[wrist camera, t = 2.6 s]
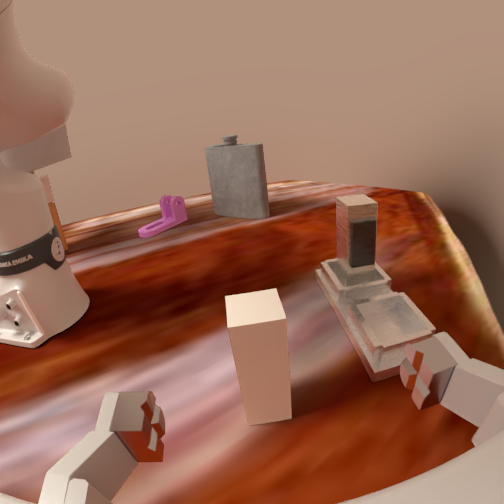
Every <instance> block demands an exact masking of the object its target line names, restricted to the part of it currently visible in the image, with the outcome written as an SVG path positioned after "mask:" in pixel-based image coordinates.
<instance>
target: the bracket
mask: <svg viewBox="0 0 504 504" xmlns="http://www.w3.org/2000/svg"><path fill="white" fill-rule="evenodd" d="M167 201H168V203H167ZM160 207H161V212H162V218H161V219H159V220H157V221H155V222H152V223H150V224H148V225H146V226H143V227H141V228H140V229H139V230H138V233H139V236H140V237H143V238H145V237H151V236H154V235H157V234H159V233H161V232H163V231H165V230H167V229H169V228H171V227H173V226H176V225H178V224H180V223H182V222H184V221H186V220H188V219H187V214H186V208H185V203H184V199H183V198H182V197H180V196H174V197H172V196H169V195H164V196H163V197H162V198H161V199H160Z"/></svg>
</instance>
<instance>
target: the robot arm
mask: <svg viewBox="0 0 504 504" xmlns="http://www.w3.org/2000/svg"><path fill="white" fill-rule="evenodd" d="M73 104H74V90H73V86H72V84H71V81H70V79H69V78H68V76H67V75H66V74H65V73H64V72H63V71H62V70H60V69H59V68H56V67H52V66H48V65H46V64H43V63H41V62H39V61H37V60H36V59H34V58H33V57H32V56H31V55H29V53H28V52H27V51H26V50H25V49H24V48H23V46H22V44H21V42H20V39H19V36H18V32H17V27H16V21H15V14H14V5H13V0H0V153H2V152H3V151H5V150H8V149H11V148H13V147H16V146H19V145H21V144H24V143H27V142H30V141H33V140H36V139H39V138H41V137H43V136H44V135H46V134H48V133H50V132H52V131H54V130H56V129H57V128H59V127H61V126H63V125H65V123H66V122H67V120H68V118H69V116H70V114H71V111H72V108H73ZM89 302H90V300H89V297H88V295H87V294H86V293H85V292H84V290H83V289H82V288H81V286H80V285H79V283H78V281H77V280H76V278H75V276H74V274H73V273H72V271H71V269H70V267H69V264H68V262H67V260H66V256H65V251H64V247H63V244H62V241H61V237H60V234H59V231H58V229H57V226H56V225H55V224H53V221H52V217H51V214H50V210H49V206H48V202H47V199H46V195H45V191H44V187H43V184H42V182H41V180H40V179H39V178H38V177H37V176H36V175H34V174H32V173H29V172H26V171H21V170H14V169H8V168H6V167H5V166H4V165H3V163H2V161H1V158H0V342H1V343H6V344H11V345H17V346H22V347H28V348H35V347H37V346H39V345H40V344H42V343H43V342H44V341H46V340H47V339H48V338H50V337H51V336H53V335H55V334H58V333H60V332H62V331H63V330H65V329H67V328H68V327H70V326H71V325H73V324H74V323H75V322H77V321H78V320H79V319H80V318H81V317H82V316H83V314H84V313H85V312H86V310H87V308H88V306H89ZM403 353H404V354H405V356H406V357H405V358H404V360H403V361H402V362H401V366H400V376H401V380H402V382H403V384H404V386H405V388H407V389H409V390H411V391H412V396H411V397H412V399H413V401H414V402H415V404H416V406H417V407H418V409H419V411H420V410H423V409H425V408H428V407H431V406H433V405H436V404H438V403H440V404H441V405H442V406H444V407H446V408H447V409H449V410H451V411H452V412H454V413H456V414H457V415H459V416H461V417H462V418H464V419H466V420H467V421H469V422H471V423H472V424H474V425H476V426H477V427H479V428H478V430H477V431H476V433H475V434H474V436H473V438H472V442H473V444H474V446H475V447H474V448H472V449H471V450H469V451H467V452H465V453H463V454H461V455H460V456H458V457H456V458H454V459H452V460H450V461H448V462H446V463H444V464H442V465H440V466H438V467H436V468H433V469H431V470H429V471H427V472H425V473H422V474H420V475H418V476H415V477H413V478H411V479H408V480H406V481H403V482H401V483H398V484H396V485H393V486H390V487H388V488H385V489H382V490H379V491H376V492H373V493H370V494H367V495H364V496H361V497H358V498H355V499H351V500H348V501H344V502H341V503H337V504H504V370H503V369H500V368H498V367H495V366H492V365H490V364H487V363H485V362H482V361H479V360H477V359H474V358H473V359H469V357H468V356H467V355H466V354H465V353H464V352H463V350H462V349H461V348H460V347H459V346H458V345H457V344H456V342H455V341H454V340H453V339H452V338H451V337H450V336H449V335H448V333H446V332H444V331H443V332H441V333H438V334H435V335H432V336H429V337H426V338H423V339H420V340H417V341H414V342H411V343H408V344H407V345H406V346H405V348H404V352H403ZM155 400H156V398H155V396H154V394H153V393H152V392H151V391H137V392H107V393H106V394H105V395H104V398H103V402H102V405H101V409H100V412H99V416H98V420H97V423H96V427H95V431H90V432H89V433H88V434H87V435H86V436H85V437H84V438H83V439H82V440H81V441H79V442H78V443H77V444H76V445H75V446H74V447H73V448H72V449H71V450H70V451H69V452H68V453H67V454H66V455H65V456H64V457H62V458H61V459H60V460H59V461H58V462H57V463H56V464H55V465H54V466H53V467H52V468H51V469H50V470H49V471H47V473H46V476H45V480H44V484H43V487H42V491H41V495H40V499H39V503H38V504H113V503H112V502H111V500H112V499H113V497H114V496H115V495H116V493H117V492H118V491H119V489H120V488H121V487H122V485H123V484H124V483H125V481H126V480H127V478H128V477H129V476H130V474H131V473H132V472H133V470H134V469H135V467H136V466H137V465H138V462H163V450H164V444H163V443H162V441H161V438H162V436H163V435H164V434H165V419H164V415H163V412H162V410H161V408H160V407H159V406H157V405H156V404H155ZM0 504H34V503H31V502H28V501H24V500H21V499H18V498H15V497H12V496H9V495H6V494H3V493H0Z"/></svg>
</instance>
